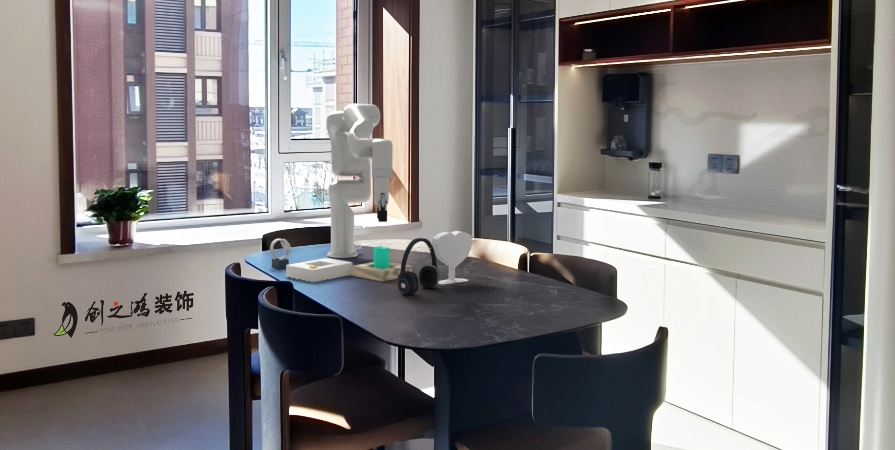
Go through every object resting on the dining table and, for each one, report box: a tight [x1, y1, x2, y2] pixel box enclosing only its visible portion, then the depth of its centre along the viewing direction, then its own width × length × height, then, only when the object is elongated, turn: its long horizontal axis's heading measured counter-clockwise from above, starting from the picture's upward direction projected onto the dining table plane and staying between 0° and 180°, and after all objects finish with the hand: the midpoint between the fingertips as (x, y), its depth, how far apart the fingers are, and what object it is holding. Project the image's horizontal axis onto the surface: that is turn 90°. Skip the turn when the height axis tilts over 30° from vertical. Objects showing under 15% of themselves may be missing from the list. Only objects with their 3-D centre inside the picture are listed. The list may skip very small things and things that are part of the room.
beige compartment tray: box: [350, 261, 413, 282], centre depth 323 cm, size 16×16×4 cm
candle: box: [373, 243, 390, 269], centre depth 323 cm, size 6×6×12 cm
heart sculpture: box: [431, 230, 473, 285], centre depth 313 cm, size 16×5×18 cm, turn 127°
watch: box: [269, 238, 292, 269], centre depth 336 cm, size 6×8×11 cm
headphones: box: [397, 237, 440, 296], centre depth 296 cm, size 20×7×18 cm, turn 149°
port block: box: [285, 257, 354, 283], centre depth 320 cm, size 20×14×5 cm
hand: (382, 220), depth 320 cm, fingers open, 9 cm apart
